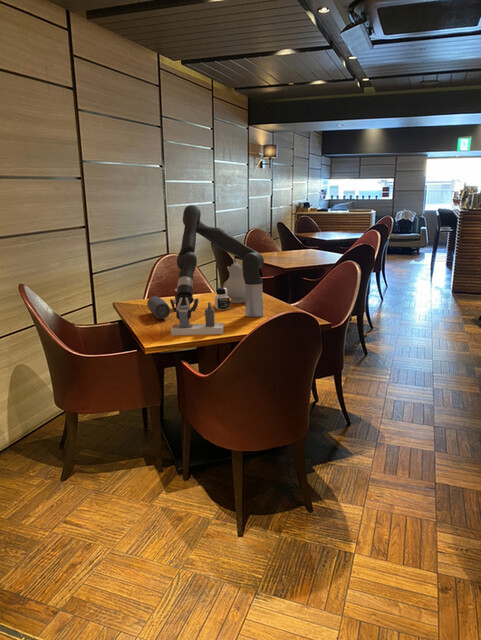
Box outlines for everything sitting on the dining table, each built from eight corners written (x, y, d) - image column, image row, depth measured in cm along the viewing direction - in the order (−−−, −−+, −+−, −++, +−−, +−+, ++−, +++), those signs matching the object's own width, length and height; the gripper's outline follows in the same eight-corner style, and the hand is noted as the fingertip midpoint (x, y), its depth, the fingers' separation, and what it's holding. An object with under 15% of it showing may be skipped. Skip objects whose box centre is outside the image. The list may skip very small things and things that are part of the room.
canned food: (189, 306, 287) (188, 287, 285) (188, 308, 280) (187, 290, 277) (176, 306, 287) (175, 288, 285) (175, 309, 279) (173, 290, 277)
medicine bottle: (217, 310, 273) (216, 289, 270) (215, 308, 280) (214, 287, 277) (230, 309, 275) (229, 288, 272) (227, 306, 281) (226, 286, 278)
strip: (223, 329, 232) (222, 300, 228) (223, 333, 223) (221, 304, 220) (174, 330, 232) (172, 302, 229) (171, 335, 224) (169, 306, 220)
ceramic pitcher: (218, 301, 304) (214, 262, 297) (246, 295, 311) (242, 257, 304) (232, 307, 284) (228, 265, 278) (262, 301, 292) (258, 260, 285)
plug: (189, 325, 229) (188, 305, 227) (188, 327, 225) (187, 306, 223) (180, 325, 229) (179, 305, 227) (179, 328, 225) (178, 307, 223)
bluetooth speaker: (146, 313, 272) (145, 296, 270) (163, 311, 275) (161, 294, 273) (154, 322, 251) (152, 303, 249) (171, 320, 254) (170, 301, 252)
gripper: (200, 292, 236) (199, 322, 227) (171, 293, 237) (169, 323, 228) (199, 283, 230) (197, 313, 221) (169, 284, 230) (166, 314, 221)
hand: (183, 318), depth 224 cm, fingers closed on plug, 4 cm apart
